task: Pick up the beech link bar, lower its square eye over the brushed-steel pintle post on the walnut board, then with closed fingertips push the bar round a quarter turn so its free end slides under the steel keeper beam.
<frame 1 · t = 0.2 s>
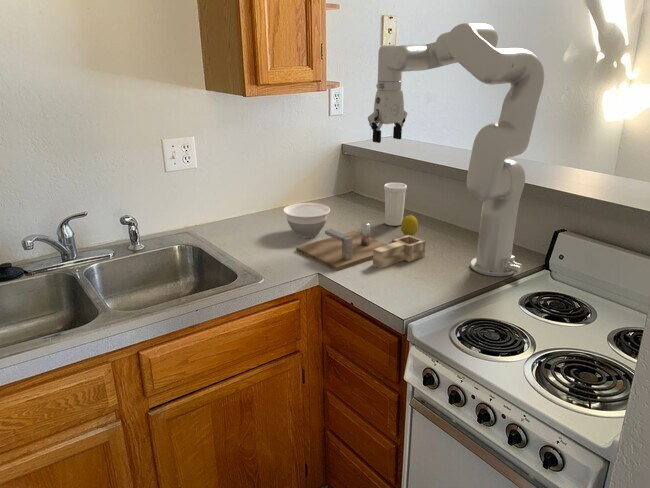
hand: (387, 140, 177), 31 cm above the worktop, fingers open, 9 cm apart
pintle: (365, 248, 171), resting on board
board: (345, 251, 168), on the worktop
keeper: (346, 262, 160), resting on board
cup: (393, 224, 193), on the worktop
bowl: (307, 233, 184), on the worktop
lemon: (408, 237, 180), on the worktop
link: (376, 266, 157), on the worktop
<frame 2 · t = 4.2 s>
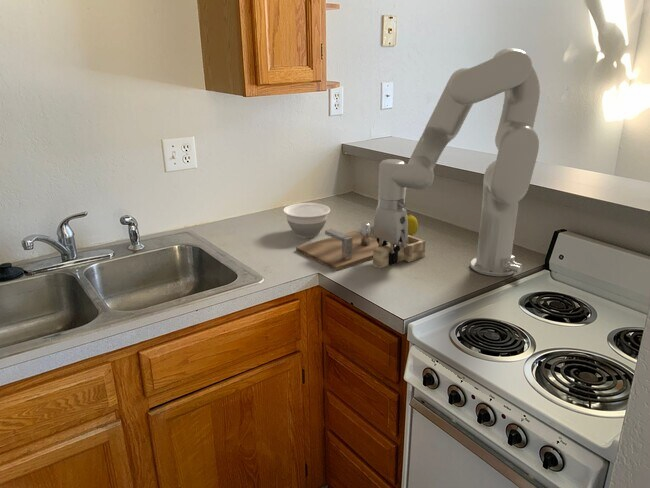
hand: (388, 261, 160), 0 cm above the worktop, fingers closed on link, 3 cm apart
link: (376, 266, 157), on the worktop, touching gripper
everything else where it was.
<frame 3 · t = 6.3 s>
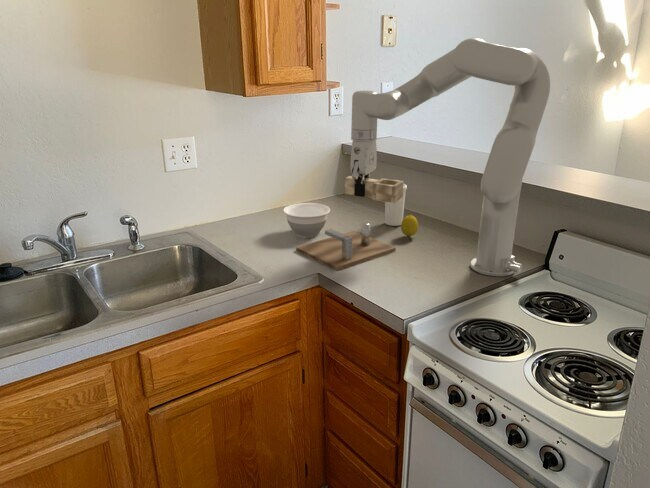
hand: (361, 194, 164), 18 cm above the worktop, fingers closed on link, 3 cm apart
link: (346, 192, 166), point 18 cm above the worktop, touching gripper
everything else where it was.
when the fingers open (3 cm above the worktop, at t = 8.7 s): link drops 2 cm, resting on board.
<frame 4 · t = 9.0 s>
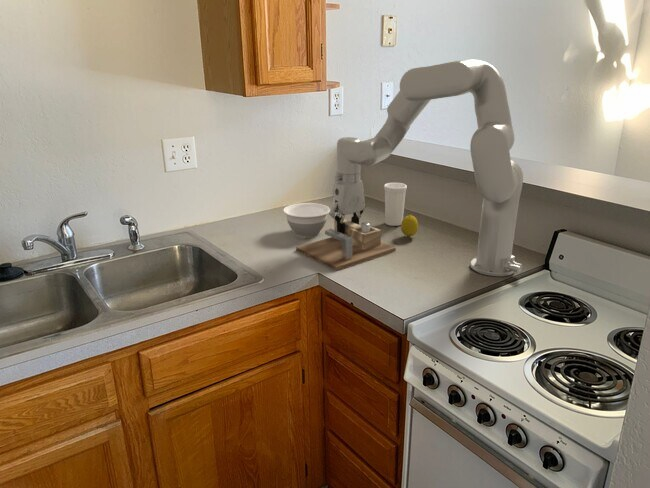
hand: (348, 230, 176), 3 cm above the worktop, fingers open, 5 cm apart
link: (337, 233, 180), point 1 cm above the worktop, touching board
everything else where it was.
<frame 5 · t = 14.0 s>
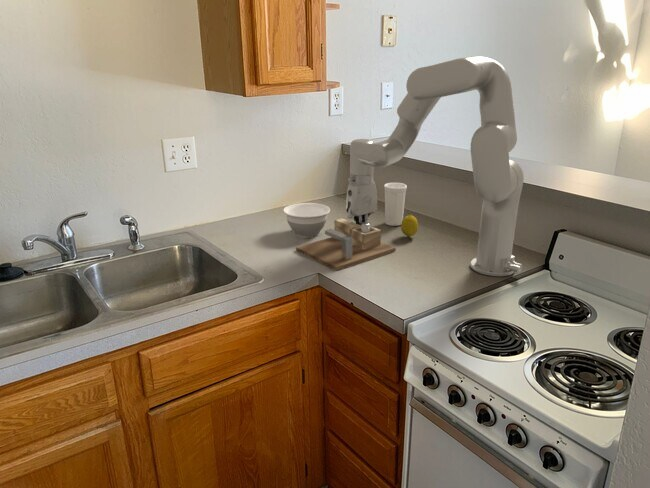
hand: (360, 232, 177), 2 cm above the worktop, fingers closed
link: (337, 233, 180), point 1 cm above the worktop, touching board, gripper
everything else where it was.
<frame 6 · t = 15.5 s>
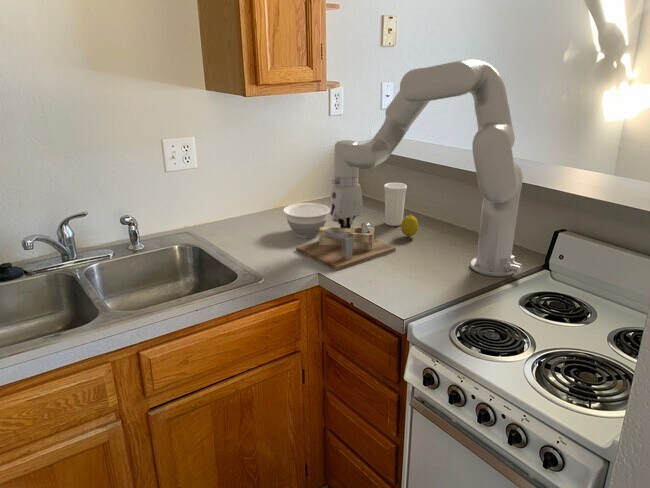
hand: (345, 235, 173), 3 cm above the worktop, fingers closed
link: (319, 243, 172), point 1 cm above the worktop, touching board, gripper, pintle
everything else where it was.
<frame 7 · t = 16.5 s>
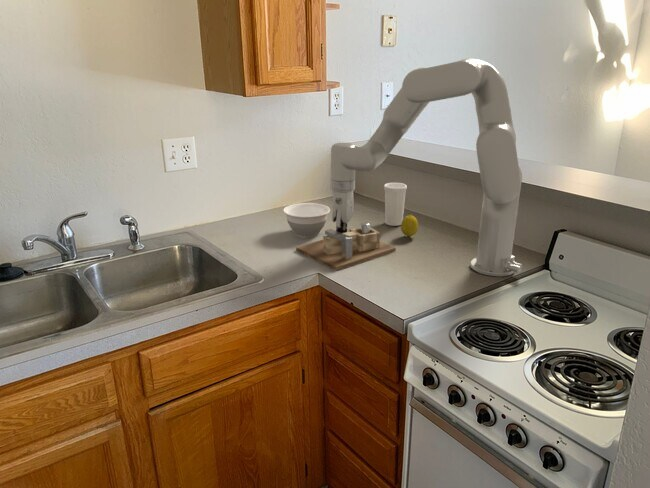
hand: (341, 240, 169), 3 cm above the worktop, fingers closed
link: (325, 253, 164), point 1 cm above the worktop, touching board, gripper
everything else where it was.
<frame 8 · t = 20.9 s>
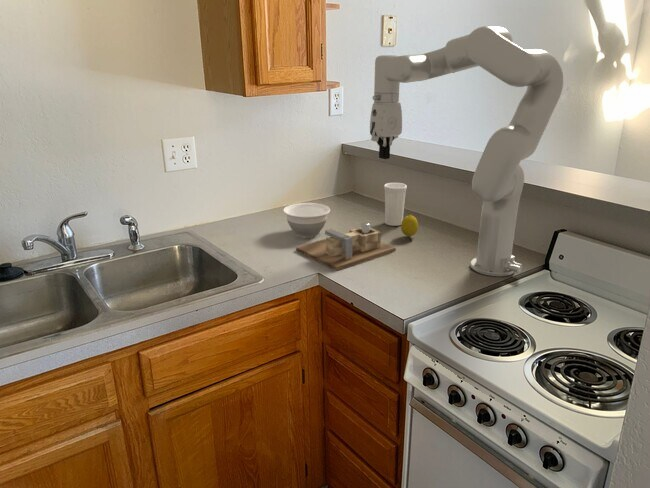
hand: (384, 158, 169), 27 cm above the worktop, fingers closed
link: (328, 254, 162), point 1 cm above the worktop, touching board
everything else where it was.
at the end: link inside the target area (1.3 cm from its centre), point 1.2 cm above the worktop; link tilted 0°; the gripper is holding nothing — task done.
